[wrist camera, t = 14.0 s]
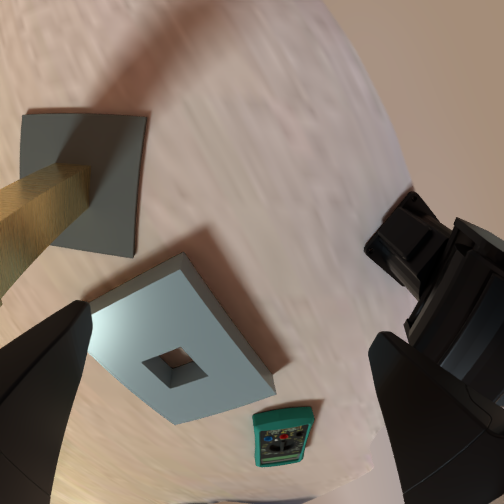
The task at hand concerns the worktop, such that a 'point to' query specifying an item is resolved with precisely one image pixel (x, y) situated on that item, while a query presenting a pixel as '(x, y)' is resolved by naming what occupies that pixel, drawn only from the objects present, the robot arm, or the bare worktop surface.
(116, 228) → the rubber mat
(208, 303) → the block
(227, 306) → the worktop surface
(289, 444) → the digital multimeter
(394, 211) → the robot arm
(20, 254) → the brass key
